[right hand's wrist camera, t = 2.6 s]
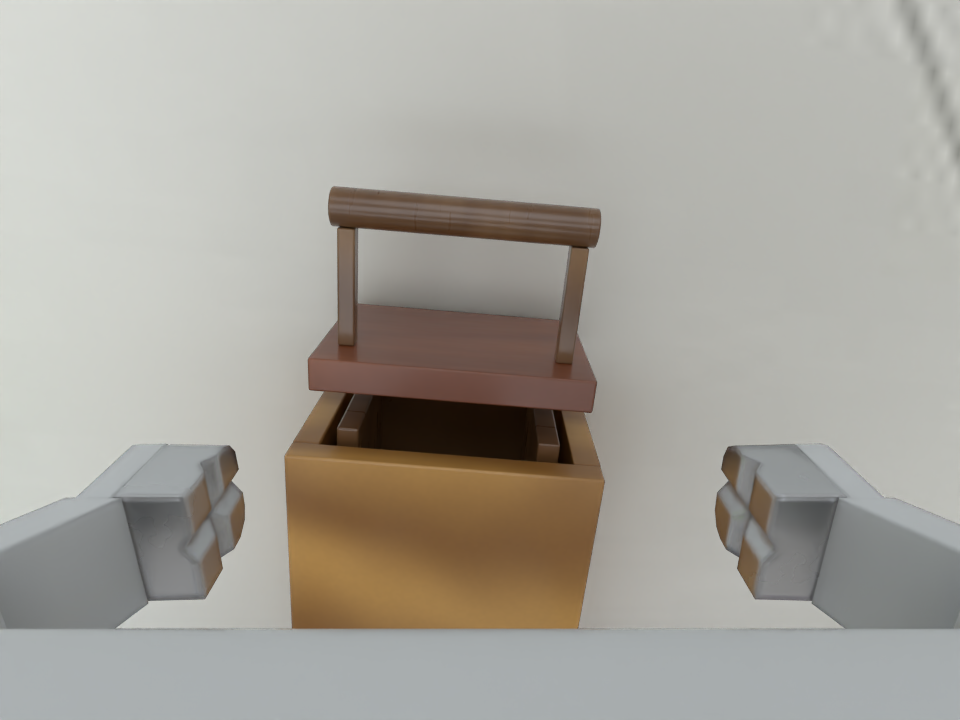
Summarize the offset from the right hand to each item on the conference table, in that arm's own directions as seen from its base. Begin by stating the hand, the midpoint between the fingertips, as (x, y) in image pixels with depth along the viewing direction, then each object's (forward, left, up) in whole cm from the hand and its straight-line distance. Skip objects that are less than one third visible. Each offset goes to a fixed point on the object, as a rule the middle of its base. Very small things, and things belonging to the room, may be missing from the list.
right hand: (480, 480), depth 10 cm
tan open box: (+7, +12, -18) cm, 23 cm away
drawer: (+4, +6, -17) cm, 18 cm away
